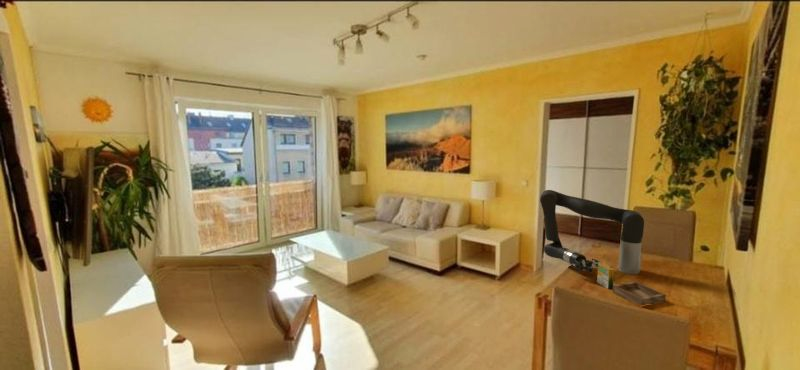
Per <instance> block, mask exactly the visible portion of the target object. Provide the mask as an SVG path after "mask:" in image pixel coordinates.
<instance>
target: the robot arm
mask: <svg viewBox="0 0 800 370" xmlns="http://www.w3.org/2000/svg"><path fill="white" fill-rule="evenodd" d="M539 203H540V204H541V208H542V211H543V217H544V218H543V219H544V230H545V239H546V240H547V241H551V242H552V243H548V244H546V245H544V247H543V251H544V253H545V255H546V256H548V257H550V258H553V259H554V258H555V259H560V260H562V261H563V262H566V263H567V264H569V265H571V266H572V267H573V268H575V269H576V270H579V271H586V272H588V273H590V274H592V273H593V269H594V268H597V269H598V261H599V262H601V261H600V260H597V259H595V258H591V260H590V259H587V257H586V256H585V255H584V254H583V253H579V252H577V251H574V250H571V249H569V248H566V247H563V244H562V241H561V240H560V237H559V236H560V235H559V227H558V220H557V216H556V211H557V210H556V207H557V206H559V207H562V208H566V209H567V210H570V211H571V212H573V213H575V214H578V215H580V216H584V217H588V218H592V219H601V220H610V221H613V222H617V223H620V224H622V229H621V235H620V240H619V241H620V245H619V255H618V257H619V258H618V270H619V272H621V273H623V274H628V275H638V274H640V273H641V270H642V269H641V267H642V254H641V253H642V241H643V238H644V237H643V236H644V232H645V231H644V230H645V220H644V217H643V216H642V215H641V214H640V213H639V212H638V211H635V210H631V209H625V208H621V207H620V208H619V207H615V206H611V205H608V204H605V203H601V202H598V201H594V200H589V199H585V198H582V197H578V196H577V197H576V196H572V195H571V196H570V195H567V194H564V193H562V192H558V191H555V190H553V189H546V190H544V191H542V193H541V194H540V197H539Z"/></svg>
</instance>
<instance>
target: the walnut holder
mask: <svg viewBox="0 0 800 370" xmlns="http://www.w3.org/2000/svg"><path fill="white" fill-rule="evenodd" d="M612 294H614V295H616V296H619V297H620V298H622V299H624V300H626V299H627V300H626V301H628V300H629V301H628V302H630V301H631V303H632V302H634V303H636V304H639V305H646V304H653V305H656V304H655V303H658V304H662V303H665V302H666V298H667V296H666V293H664V292H661V291H659V290H656V289H654V288H652V287H650V286H647V285H645V284H642V283H641V282H638V281H636V280H635V281H631V282H625V283H621V284H620V283H619V284H615V285H614V284H613V288H612ZM661 302H662V303H661ZM634 303H633V304H634ZM636 304H635V305H636Z"/></svg>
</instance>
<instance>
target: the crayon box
mask: <svg viewBox="0 0 800 370" xmlns="http://www.w3.org/2000/svg"><path fill="white" fill-rule="evenodd" d="M599 261H600V260H598V268H597V275H596V283H597V284H599V285H601V286H602V287H604V288H605V289H607V290H611V289H613V286H614V276H615V269H613V268H611V266H609V265H608V264H605V263H604V262H603V261H600V262H599Z"/></svg>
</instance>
